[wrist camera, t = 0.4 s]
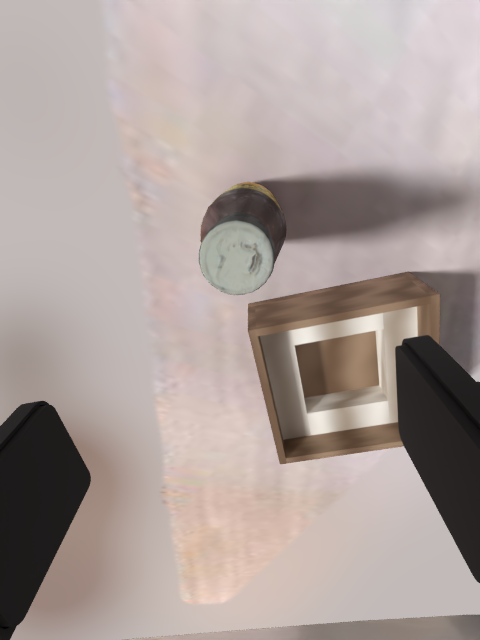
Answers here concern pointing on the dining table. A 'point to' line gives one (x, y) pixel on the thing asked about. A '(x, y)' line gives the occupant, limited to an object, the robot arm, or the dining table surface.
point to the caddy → (338, 363)
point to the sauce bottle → (241, 238)
